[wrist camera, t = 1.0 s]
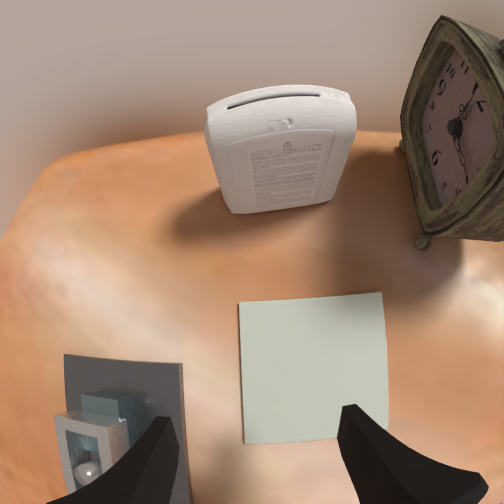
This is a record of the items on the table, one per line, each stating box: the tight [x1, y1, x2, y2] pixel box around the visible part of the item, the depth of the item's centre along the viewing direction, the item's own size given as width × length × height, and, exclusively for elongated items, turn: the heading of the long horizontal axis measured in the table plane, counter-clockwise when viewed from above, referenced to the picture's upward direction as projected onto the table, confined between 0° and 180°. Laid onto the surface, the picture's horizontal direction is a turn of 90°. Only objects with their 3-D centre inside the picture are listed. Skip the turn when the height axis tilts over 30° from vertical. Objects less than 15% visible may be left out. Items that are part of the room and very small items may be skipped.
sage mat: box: [239, 292, 388, 444], centre depth 23 cm, size 12×12×1 cm
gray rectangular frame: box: [54, 410, 130, 494], centre depth 16 cm, size 9×5×3 cm, turn 2°
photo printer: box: [205, 85, 357, 214], centre depth 22 cm, size 10×4×12 cm, turn 98°
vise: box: [64, 354, 193, 504], centre depth 18 cm, size 18×12×8 cm, turn 2°
